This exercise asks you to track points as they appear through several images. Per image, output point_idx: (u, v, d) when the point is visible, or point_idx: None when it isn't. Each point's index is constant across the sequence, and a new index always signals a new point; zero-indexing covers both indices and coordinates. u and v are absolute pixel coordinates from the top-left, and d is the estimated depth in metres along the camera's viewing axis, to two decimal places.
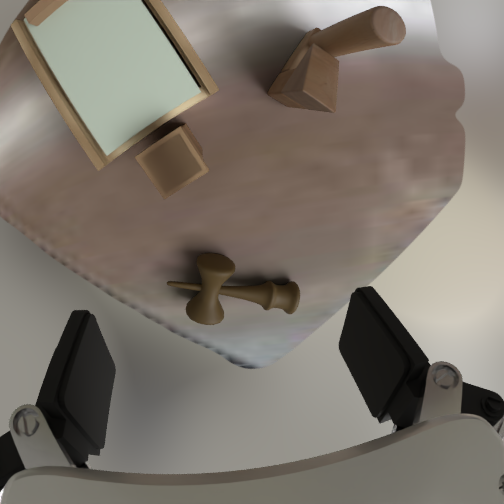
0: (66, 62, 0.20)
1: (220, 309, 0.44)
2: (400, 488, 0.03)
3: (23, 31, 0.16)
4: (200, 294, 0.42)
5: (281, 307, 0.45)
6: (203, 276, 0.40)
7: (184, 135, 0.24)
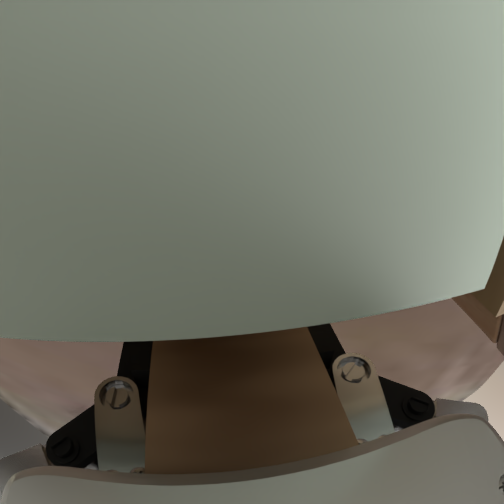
0: None
1: None
2: (400, 488, 0.03)
3: None
4: None
5: None
6: None
7: None
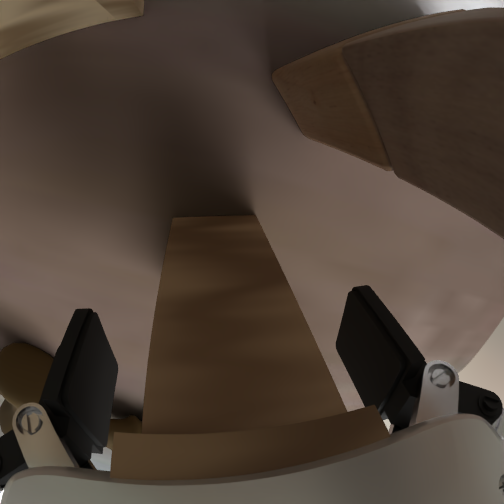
0: None
1: None
2: (400, 488, 0.03)
3: None
4: (12, 404, 0.15)
5: None
6: None
7: None
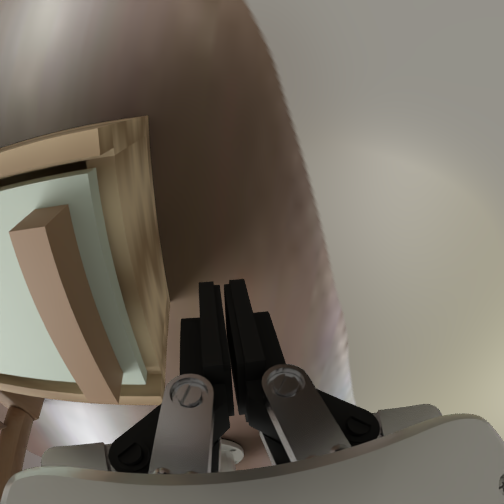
0: None
1: None
2: (400, 488, 0.03)
3: (43, 165, 0.08)
4: None
5: None
6: None
7: None
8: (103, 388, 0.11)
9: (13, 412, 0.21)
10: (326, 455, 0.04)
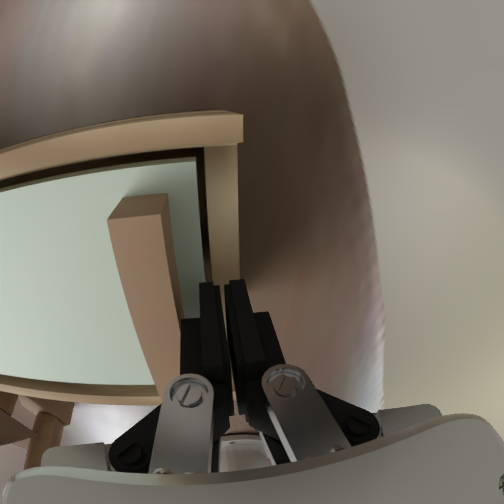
0: None
1: None
2: (400, 488, 0.03)
3: (167, 146, 0.09)
4: None
5: None
6: None
7: None
8: None
9: (43, 419, 0.22)
10: (326, 455, 0.04)
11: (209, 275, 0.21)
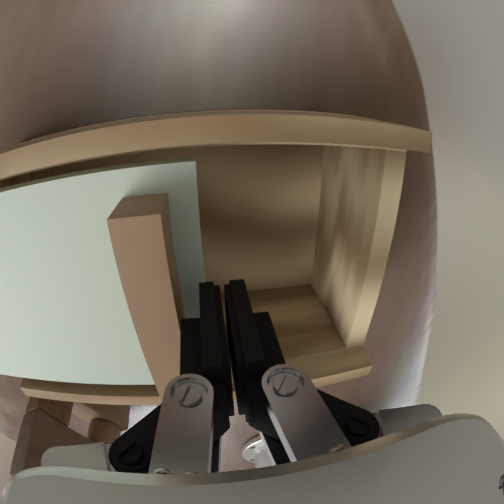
0: None
1: None
2: (400, 488, 0.03)
3: (381, 146, 0.10)
4: None
5: None
6: None
7: None
8: None
9: (100, 426, 0.23)
10: (326, 455, 0.04)
11: (311, 266, 0.22)
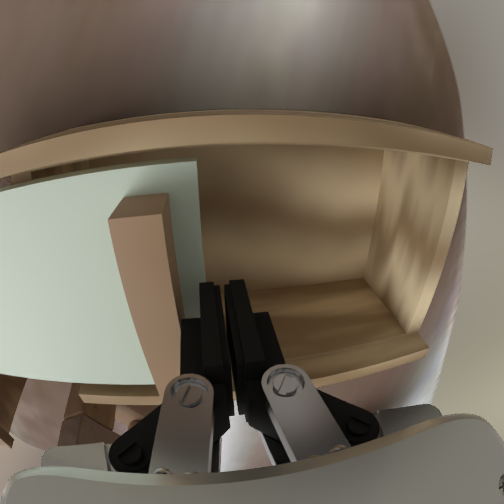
0: None
1: None
2: (400, 488, 0.03)
3: (461, 158, 0.10)
4: None
5: None
6: None
7: (3, 445, 0.13)
8: None
9: None
10: (326, 455, 0.04)
11: (365, 260, 0.23)
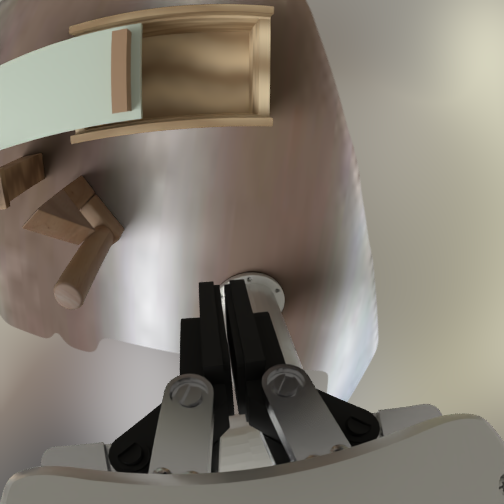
0: (60, 54, 0.21)
1: None
2: (400, 488, 0.03)
3: (250, 12, 0.23)
4: None
5: None
6: None
7: (1, 208, 0.25)
8: (123, 99, 0.24)
9: (99, 227, 0.36)
10: (326, 455, 0.04)
11: (247, 100, 0.35)
